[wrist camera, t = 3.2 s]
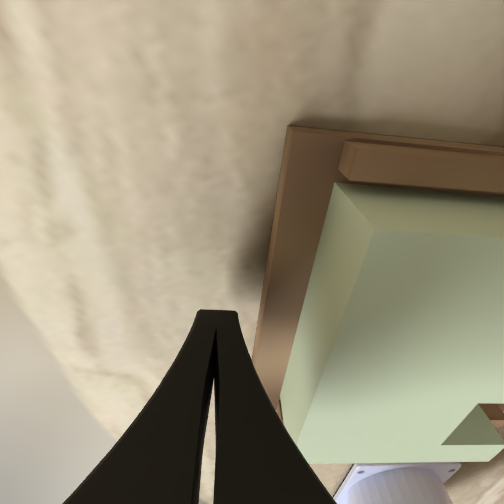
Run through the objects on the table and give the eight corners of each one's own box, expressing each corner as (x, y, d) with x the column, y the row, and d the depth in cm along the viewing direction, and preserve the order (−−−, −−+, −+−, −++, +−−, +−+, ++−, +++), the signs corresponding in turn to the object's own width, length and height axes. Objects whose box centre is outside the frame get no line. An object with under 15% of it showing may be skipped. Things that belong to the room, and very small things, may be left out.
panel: (447, 396, 15) (488, 461, 13) (279, 395, 15) (289, 464, 12) (597, 203, 10) (726, 252, 7) (334, 182, 9) (374, 229, 6)
